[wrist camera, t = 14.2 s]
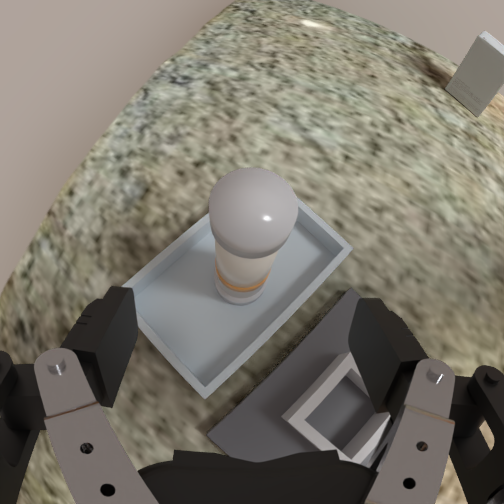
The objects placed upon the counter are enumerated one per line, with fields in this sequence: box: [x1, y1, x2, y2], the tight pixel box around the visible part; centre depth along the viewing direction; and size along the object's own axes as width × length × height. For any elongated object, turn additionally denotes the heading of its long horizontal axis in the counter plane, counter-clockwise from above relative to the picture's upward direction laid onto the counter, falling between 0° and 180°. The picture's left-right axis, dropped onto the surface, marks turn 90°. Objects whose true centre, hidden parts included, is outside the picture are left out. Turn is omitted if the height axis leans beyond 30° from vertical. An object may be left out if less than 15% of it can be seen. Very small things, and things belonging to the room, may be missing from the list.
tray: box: [121, 197, 354, 399], centre depth 25 cm, size 16×10×3 cm, turn 135°
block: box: [206, 288, 390, 466], centre depth 21 cm, size 16×12×4 cm
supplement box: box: [445, 31, 504, 117], centre depth 35 cm, size 7×7×13 cm
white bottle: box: [209, 168, 298, 306], centre depth 20 cm, size 4×4×12 cm
